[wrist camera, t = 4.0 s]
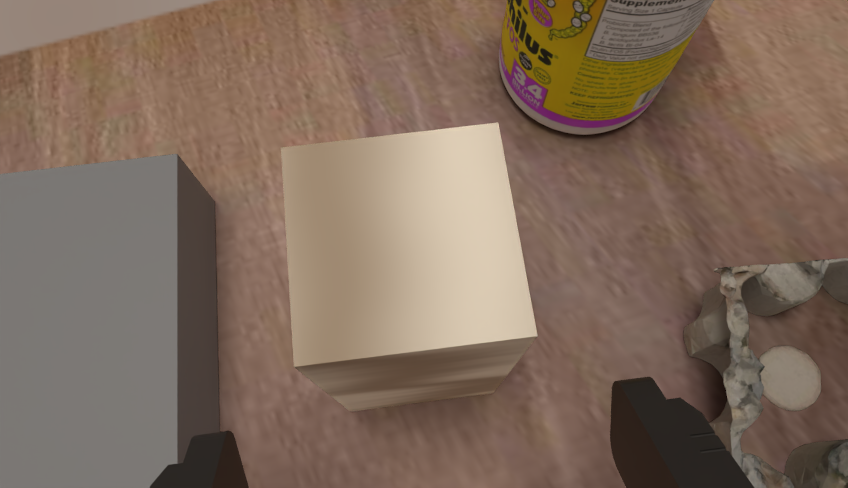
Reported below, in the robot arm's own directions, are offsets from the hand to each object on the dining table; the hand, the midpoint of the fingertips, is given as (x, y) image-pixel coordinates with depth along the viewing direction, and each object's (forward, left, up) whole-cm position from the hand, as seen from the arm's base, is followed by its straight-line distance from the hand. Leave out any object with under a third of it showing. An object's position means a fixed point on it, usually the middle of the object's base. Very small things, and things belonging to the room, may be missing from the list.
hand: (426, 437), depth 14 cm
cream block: (0, -4, -9) cm, 10 cm away
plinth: (+13, -4, -9) cm, 16 cm away
